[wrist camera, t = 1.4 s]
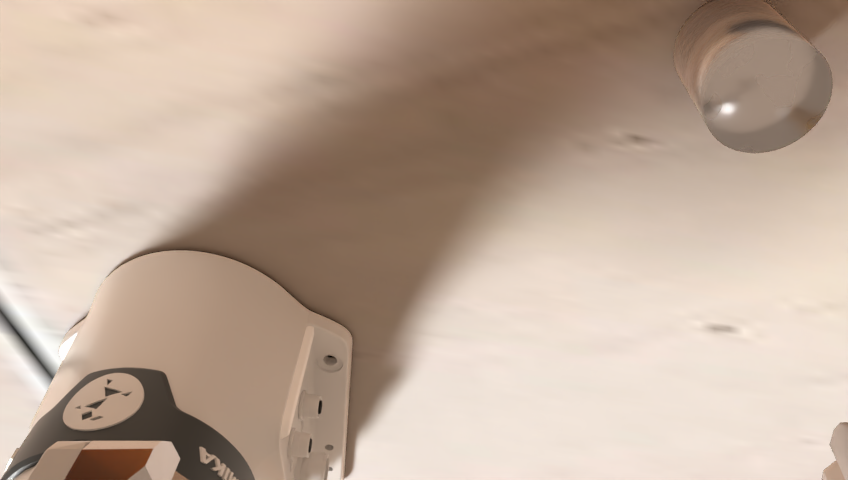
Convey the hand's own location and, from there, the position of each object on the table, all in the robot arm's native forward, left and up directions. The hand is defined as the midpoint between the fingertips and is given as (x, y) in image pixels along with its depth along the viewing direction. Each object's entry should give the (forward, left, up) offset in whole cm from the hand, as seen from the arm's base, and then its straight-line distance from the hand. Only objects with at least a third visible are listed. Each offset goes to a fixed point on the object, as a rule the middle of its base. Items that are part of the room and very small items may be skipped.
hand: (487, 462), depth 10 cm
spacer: (-6, -11, -30) cm, 32 cm away
